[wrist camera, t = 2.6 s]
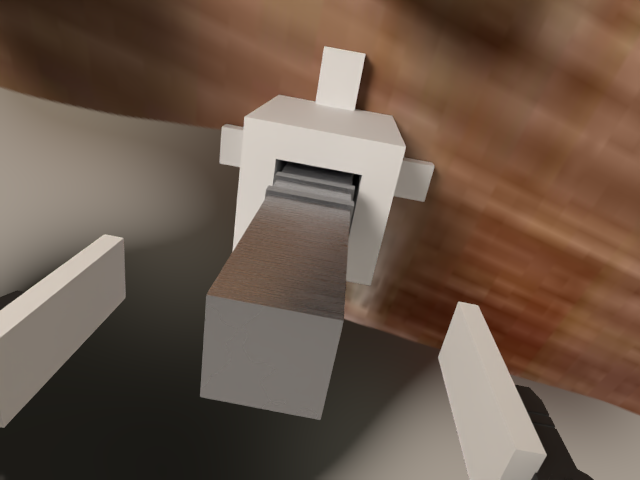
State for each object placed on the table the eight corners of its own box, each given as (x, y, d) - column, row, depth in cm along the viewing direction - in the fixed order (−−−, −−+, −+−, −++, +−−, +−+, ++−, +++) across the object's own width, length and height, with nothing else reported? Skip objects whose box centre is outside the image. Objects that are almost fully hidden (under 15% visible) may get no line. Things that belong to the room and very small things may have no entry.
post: (303, 131, 34) (201, 289, 12) (356, 141, 34) (349, 317, 12) (295, 182, 36) (195, 399, 14) (346, 192, 36) (323, 424, 14)
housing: (232, 29, 32) (174, 22, 22) (458, 70, 32) (503, 83, 22) (218, 234, 39) (169, 299, 29) (401, 268, 39) (415, 346, 29)
